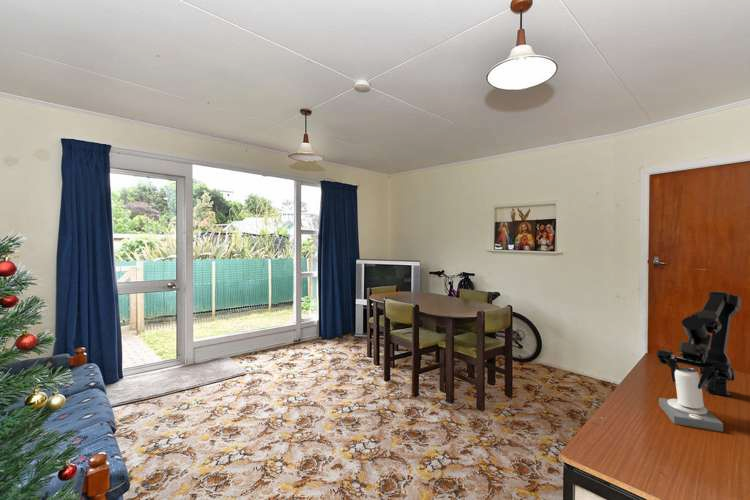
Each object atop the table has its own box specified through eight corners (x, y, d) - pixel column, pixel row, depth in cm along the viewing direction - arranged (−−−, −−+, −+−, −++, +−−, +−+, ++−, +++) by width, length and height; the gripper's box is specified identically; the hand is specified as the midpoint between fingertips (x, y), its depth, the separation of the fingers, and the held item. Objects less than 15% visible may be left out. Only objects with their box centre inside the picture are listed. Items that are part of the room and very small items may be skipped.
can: (709, 407, 113) (704, 370, 114) (693, 410, 112) (689, 373, 113) (688, 400, 120) (683, 365, 120) (673, 403, 118) (668, 368, 119)
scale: (658, 404, 124) (659, 395, 124) (701, 410, 119) (702, 401, 119) (674, 423, 111) (674, 413, 111) (723, 431, 106) (723, 421, 106)
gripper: (658, 327, 126) (645, 363, 120) (730, 339, 110) (718, 381, 105) (666, 344, 130) (654, 380, 125) (736, 358, 114) (726, 400, 109)
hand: (685, 384), depth 116 cm, fingers closed on can, 6 cm apart
